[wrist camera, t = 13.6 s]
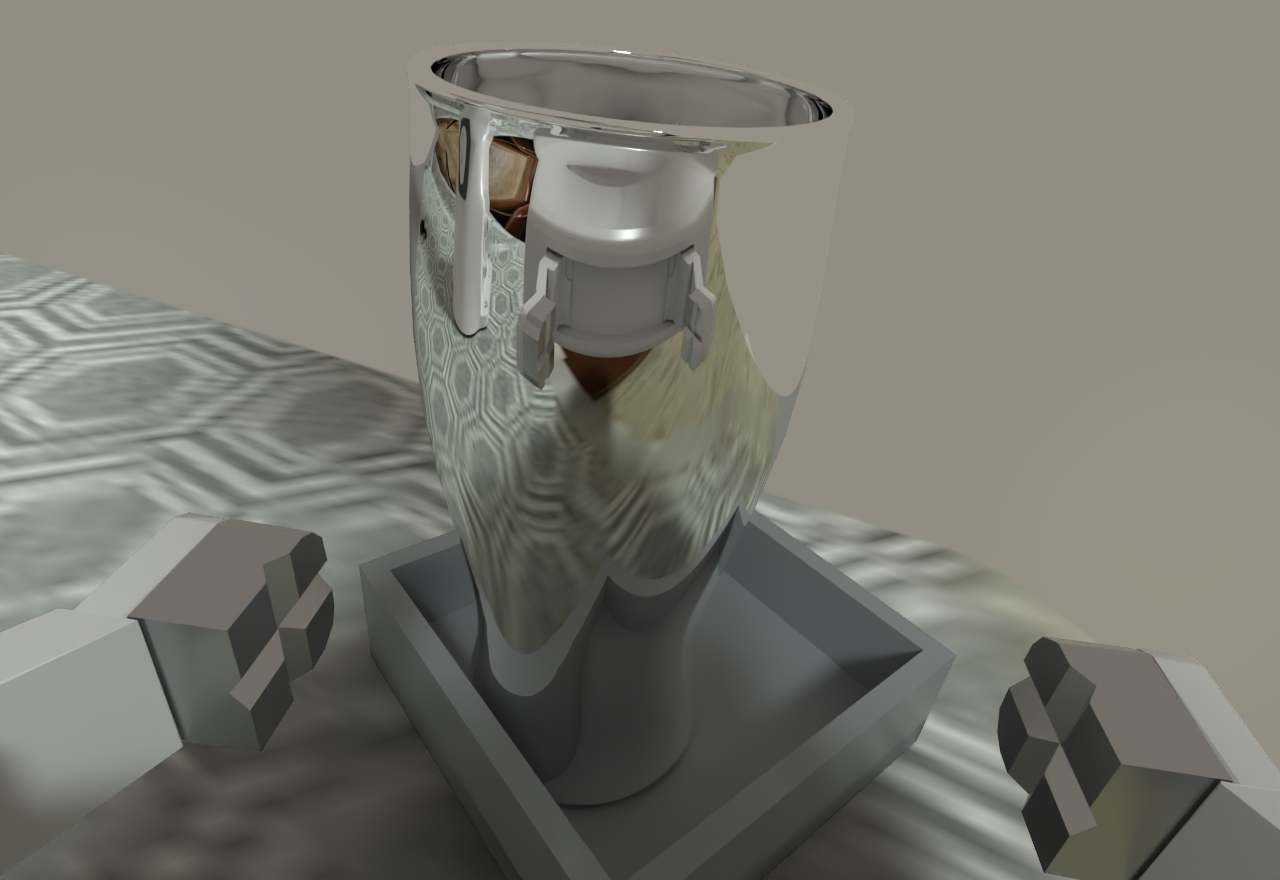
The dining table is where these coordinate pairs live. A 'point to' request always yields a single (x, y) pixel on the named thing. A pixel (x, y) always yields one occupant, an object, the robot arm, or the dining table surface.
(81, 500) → the dining table surface
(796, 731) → the box
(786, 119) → the silver tall rounded piece
